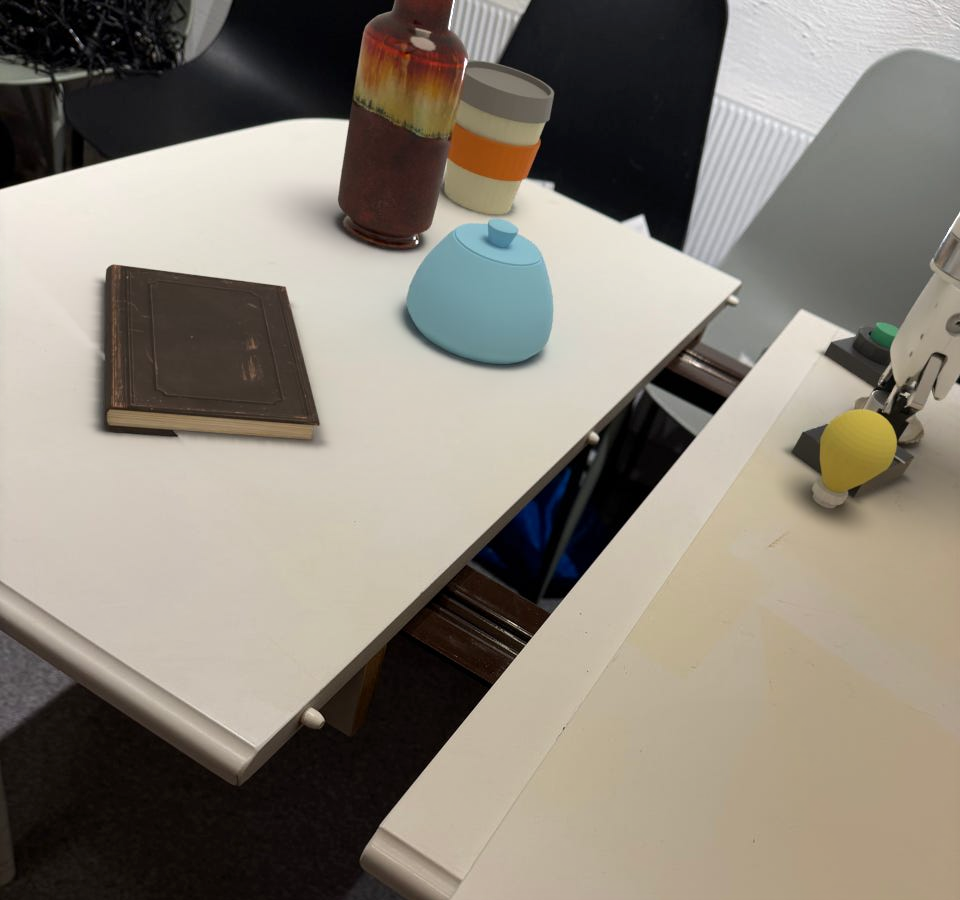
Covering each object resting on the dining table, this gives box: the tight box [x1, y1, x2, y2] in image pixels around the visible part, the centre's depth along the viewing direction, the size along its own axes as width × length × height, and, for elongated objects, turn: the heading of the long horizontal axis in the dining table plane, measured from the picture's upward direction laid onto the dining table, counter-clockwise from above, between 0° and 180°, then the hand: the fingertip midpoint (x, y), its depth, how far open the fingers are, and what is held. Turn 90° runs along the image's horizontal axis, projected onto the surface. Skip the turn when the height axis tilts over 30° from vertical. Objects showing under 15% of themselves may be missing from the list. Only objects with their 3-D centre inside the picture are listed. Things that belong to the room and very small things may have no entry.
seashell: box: [853, 396, 925, 445], centre depth 109 cm, size 8×3×8 cm
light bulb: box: [811, 409, 898, 509], centre depth 90 cm, size 7×7×10 cm
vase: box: [337, 0, 469, 251], centre depth 104 cm, size 11×11×26 cm
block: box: [823, 325, 891, 388], centre depth 120 cm, size 10×8×4 cm
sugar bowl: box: [406, 218, 554, 365], centre depth 96 cm, size 15×15×12 cm
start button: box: [870, 321, 900, 348], centre depth 119 cm, size 4×4×2 cm
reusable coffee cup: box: [443, 59, 555, 216], centre depth 123 cm, size 13×13×15 cm
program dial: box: [863, 390, 901, 412], centre depth 98 cm, size 4×4×5 cm
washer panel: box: [790, 422, 915, 498], centre depth 100 cm, size 11×9×3 cm
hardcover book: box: [103, 264, 321, 441], centre depth 83 cm, size 16×23×2 cm
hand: (872, 435), depth 99 cm, fingers closed on program dial, 4 cm apart
